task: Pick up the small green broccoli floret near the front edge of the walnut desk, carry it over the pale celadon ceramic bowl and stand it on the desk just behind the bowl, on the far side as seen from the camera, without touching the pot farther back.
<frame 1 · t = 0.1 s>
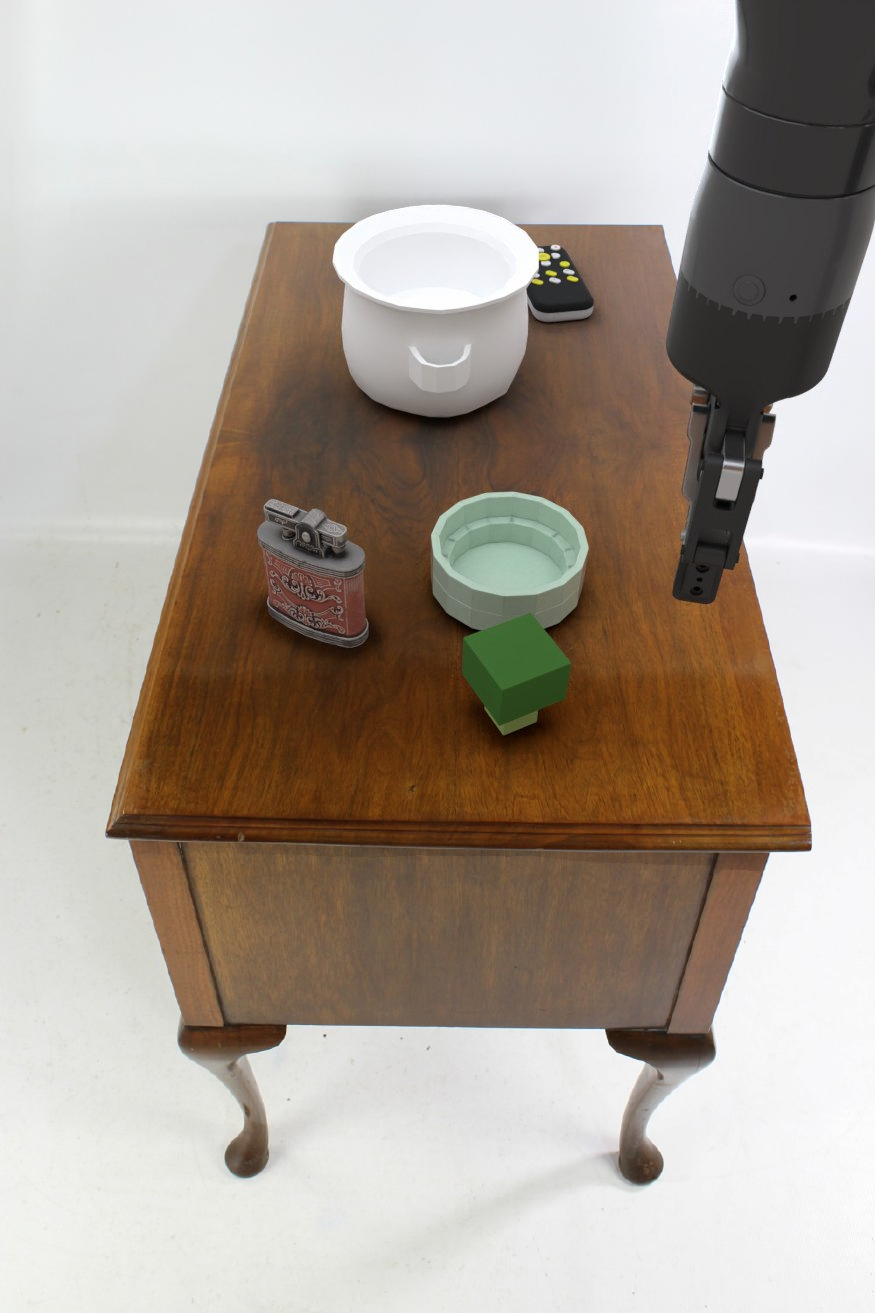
hand: (696, 544, 59), 17 cm above the table, tool pointing down, fingers open, 8 cm apart
broccoli: (510, 715, 72), on the table
pot: (434, 380, 99), on the table
remote control: (549, 292, 110), on the table
lighter: (318, 622, 78), on the table
bowl: (505, 586, 80), on the table
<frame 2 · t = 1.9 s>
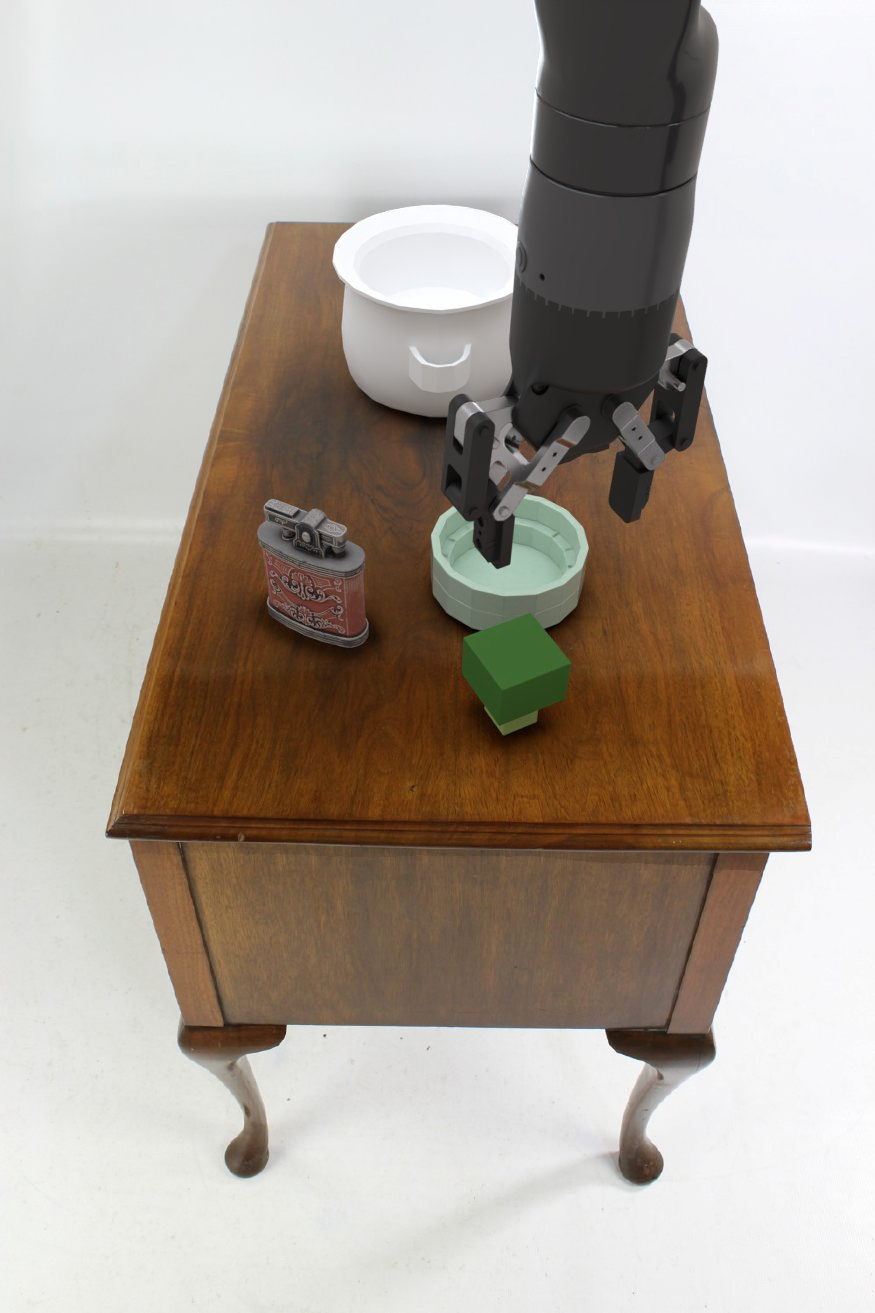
hand: (560, 535, 60), 16 cm above the table, tool pointing down, fingers open, 8 cm apart
nothing on the table moved.
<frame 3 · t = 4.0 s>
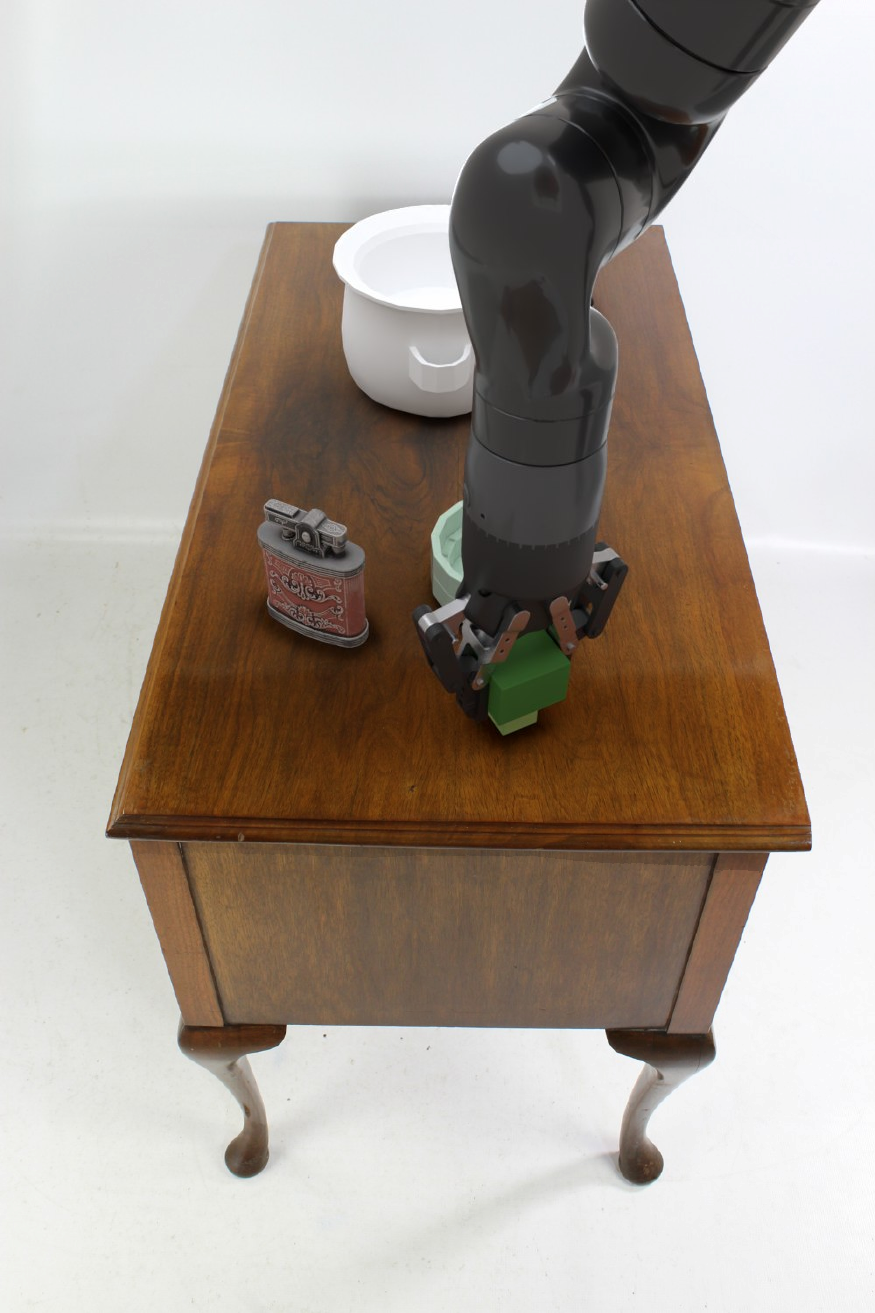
hand: (512, 696, 70), 2 cm above the table, tool pointing down, fingers closed on broccoli, 5 cm apart
broccoli: (510, 715, 72), on the table, touching gripper
everything else where it was.
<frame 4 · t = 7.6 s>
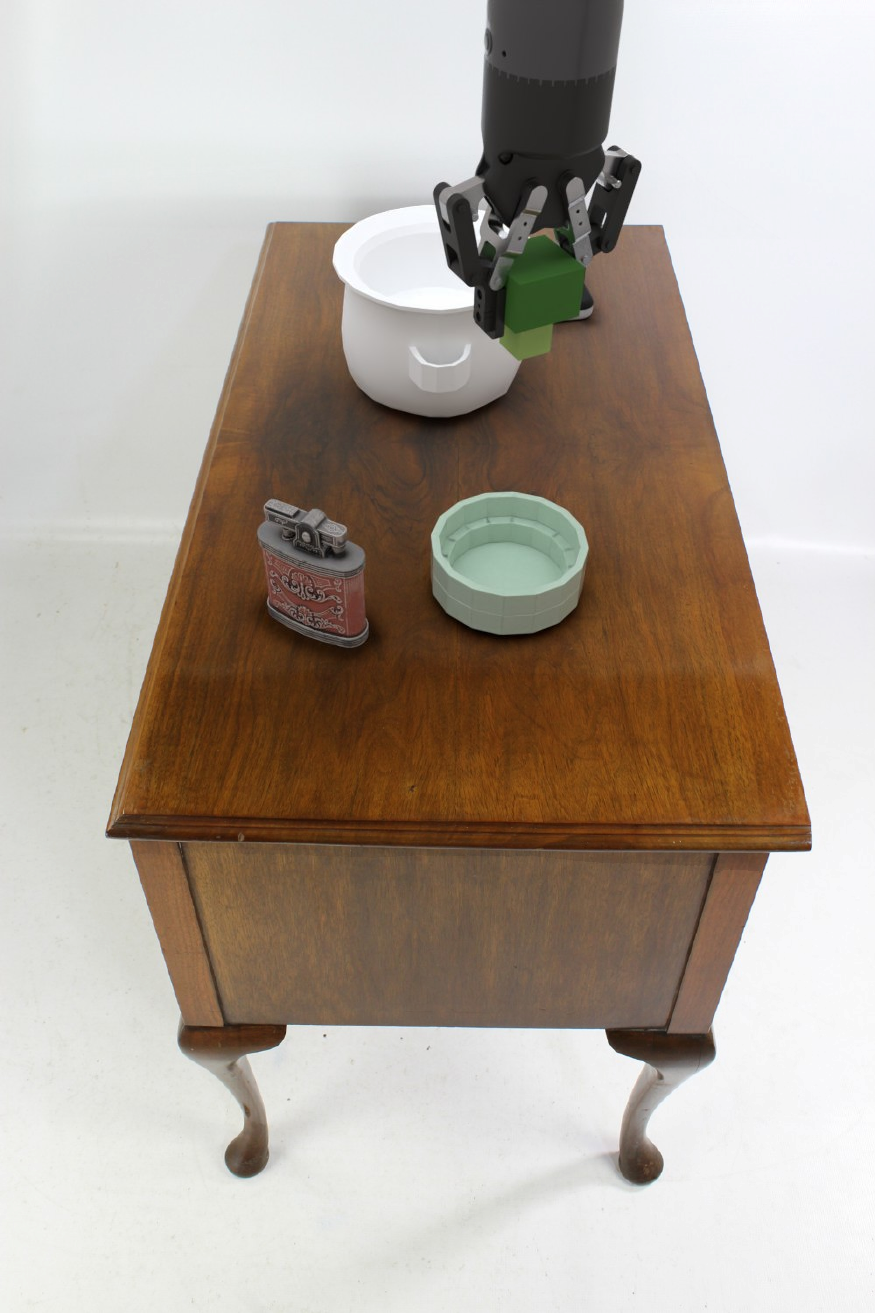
hand: (527, 322, 72), 17 cm above the table, tool pointing down, fingers closed on broccoli, 5 cm apart
broccoli: (524, 347, 74), point 16 cm above the table, touching gripper
everything else where it was.
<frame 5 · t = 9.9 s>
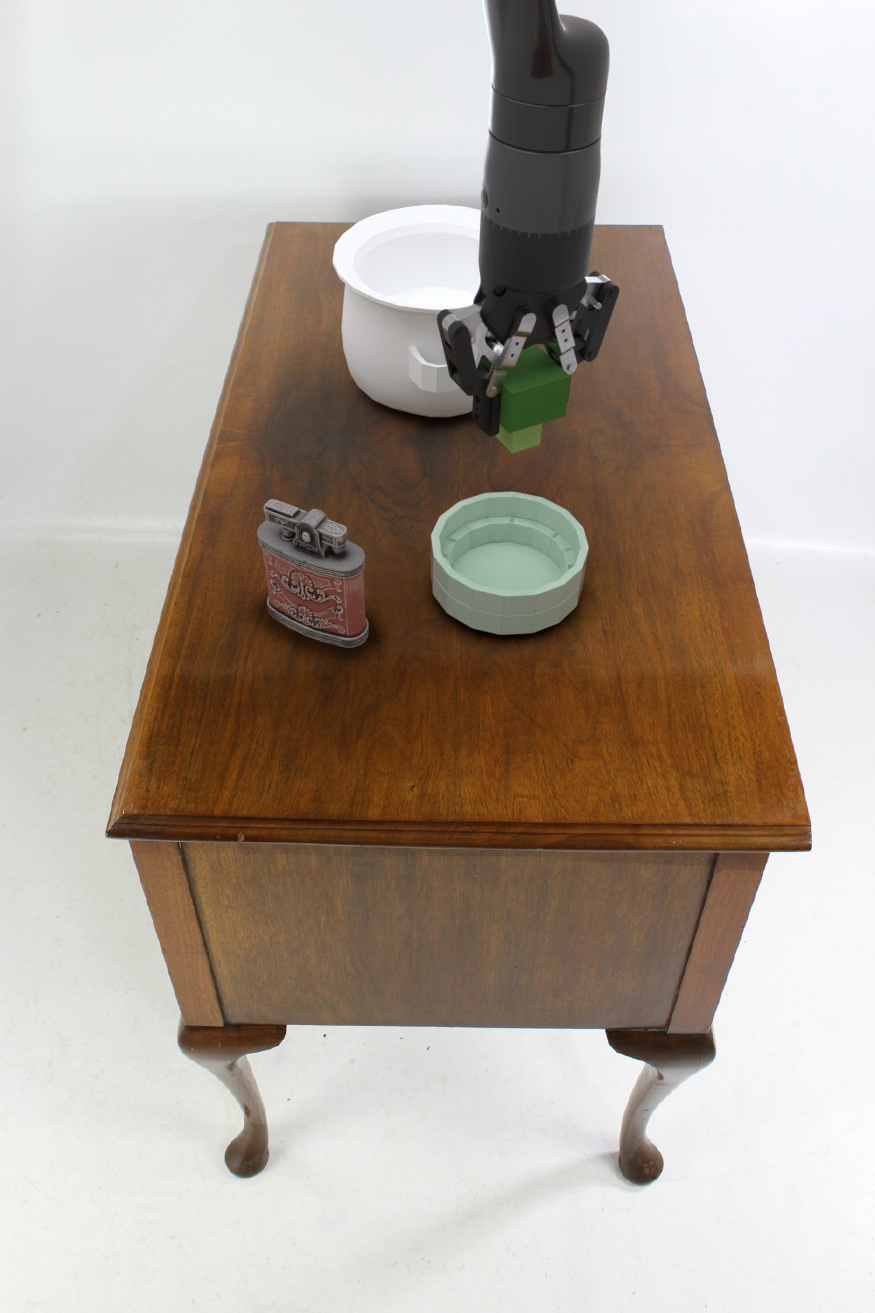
hand: (519, 419, 82), 7 cm above the table, tool pointing down, fingers closed on broccoli, 5 cm apart
broccoli: (517, 440, 83), point 5 cm above the table, touching gripper
everything else where it was.
when the fingers open (2 cm above the table, at t = 11.6 s): broccoli stays where it is, on the table.
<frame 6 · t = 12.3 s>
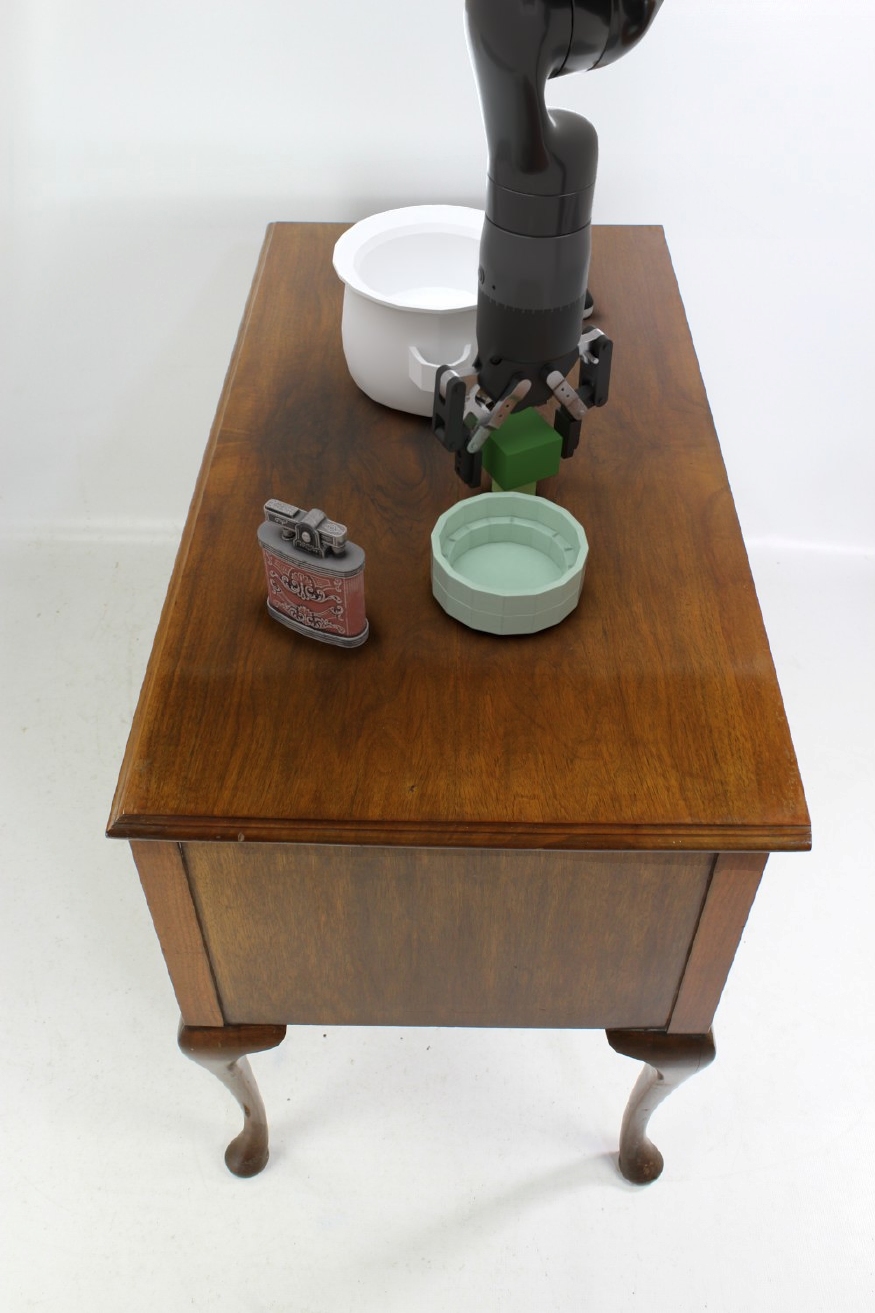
hand: (517, 467, 85), 3 cm above the table, tool pointing down, fingers open, 8 cm apart
broccoli: (513, 495, 87), on the table
everything else where it was.
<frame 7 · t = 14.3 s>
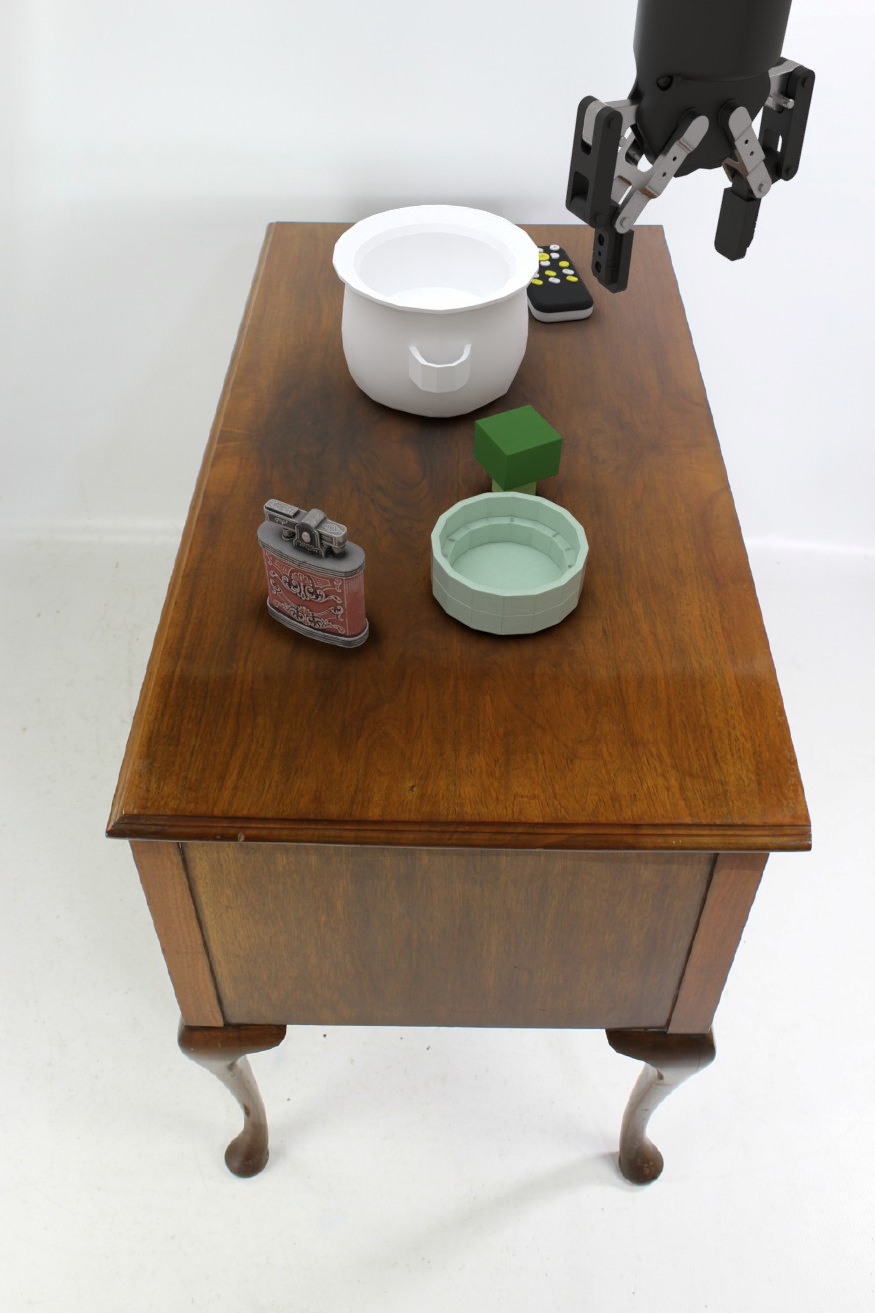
hand: (671, 270, 64), 24 cm above the table, tool pointing down, fingers open, 8 cm apart
nothing on the table moved.
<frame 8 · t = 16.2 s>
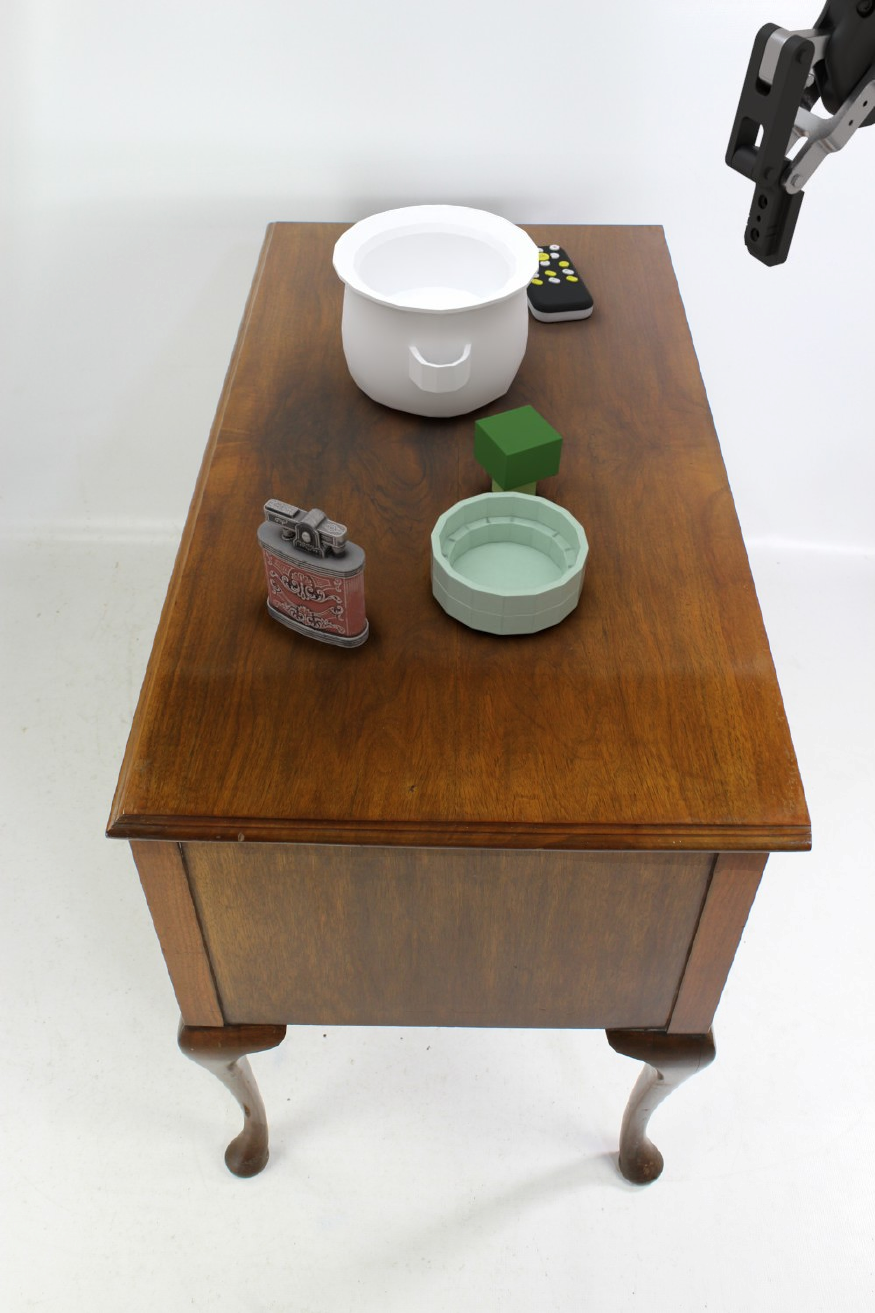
hand: (831, 241, 54), 30 cm above the table, tool pointing down, fingers open, 8 cm apart
nothing on the table moved.
at the end: broccoli inside the target area on the table beside the bowl (0.7 cm from its centre), on the table; broccoli tilted 0°; broccoli touching table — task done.
